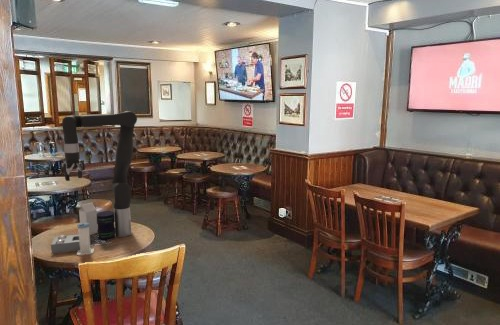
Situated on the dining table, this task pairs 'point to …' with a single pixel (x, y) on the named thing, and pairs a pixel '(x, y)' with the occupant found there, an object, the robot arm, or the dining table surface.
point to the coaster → (85, 253)
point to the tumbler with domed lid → (84, 237)
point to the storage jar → (105, 225)
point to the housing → (66, 244)
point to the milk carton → (89, 217)
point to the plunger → (62, 237)
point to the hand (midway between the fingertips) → (74, 179)
